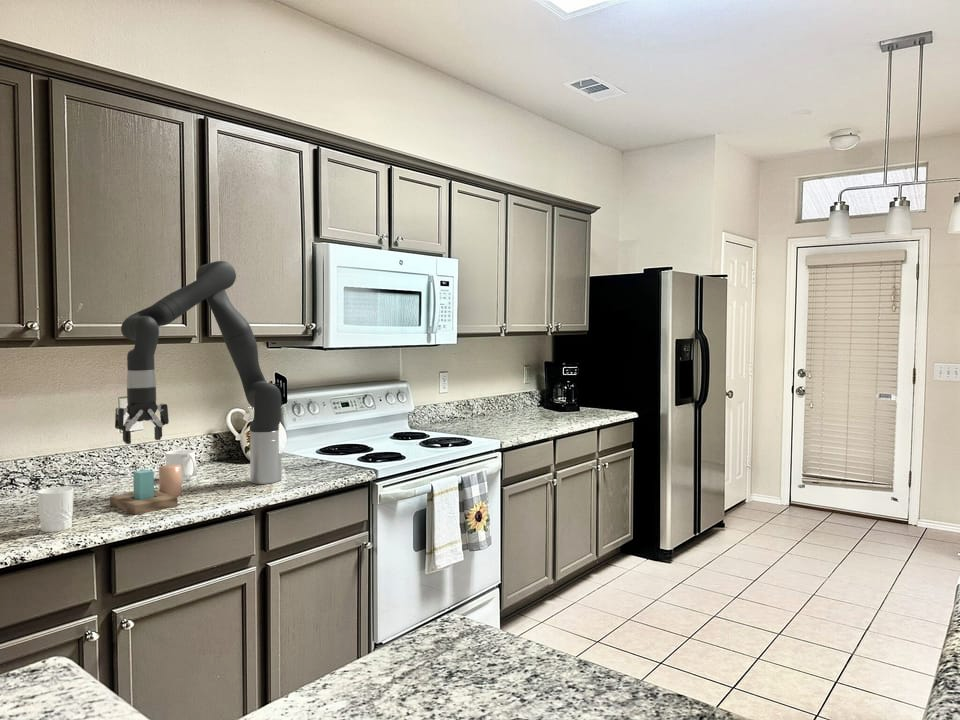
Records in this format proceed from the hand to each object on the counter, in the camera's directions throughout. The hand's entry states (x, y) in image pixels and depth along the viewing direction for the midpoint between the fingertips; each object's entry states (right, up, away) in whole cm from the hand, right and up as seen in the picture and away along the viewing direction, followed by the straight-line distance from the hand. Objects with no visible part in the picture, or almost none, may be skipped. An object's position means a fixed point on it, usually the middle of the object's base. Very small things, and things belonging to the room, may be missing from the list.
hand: (142, 441), depth 199 cm
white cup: (-11, -20, -22) cm, 32 cm away
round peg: (+2, -18, +13) cm, 22 cm away
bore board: (0, -19, +1) cm, 19 cm away
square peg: (0, -19, +1) cm, 19 cm away
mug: (-4, -17, +36) cm, 40 cm away
